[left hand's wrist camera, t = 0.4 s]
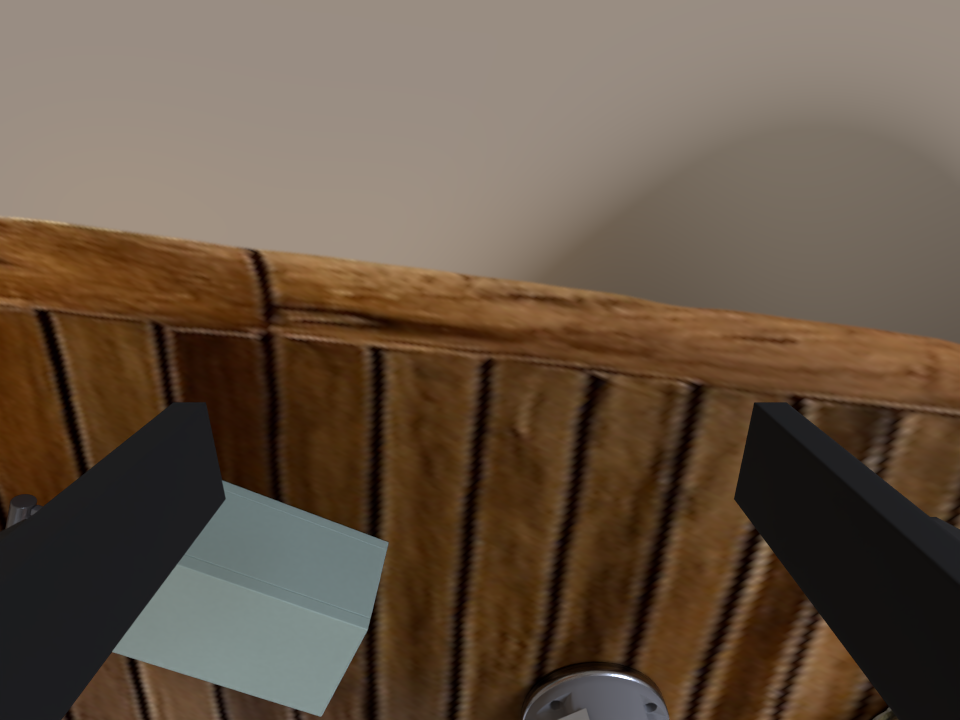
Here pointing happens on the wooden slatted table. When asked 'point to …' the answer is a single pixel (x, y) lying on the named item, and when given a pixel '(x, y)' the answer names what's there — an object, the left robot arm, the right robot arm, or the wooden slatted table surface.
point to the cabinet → (264, 603)
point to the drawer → (21, 508)
